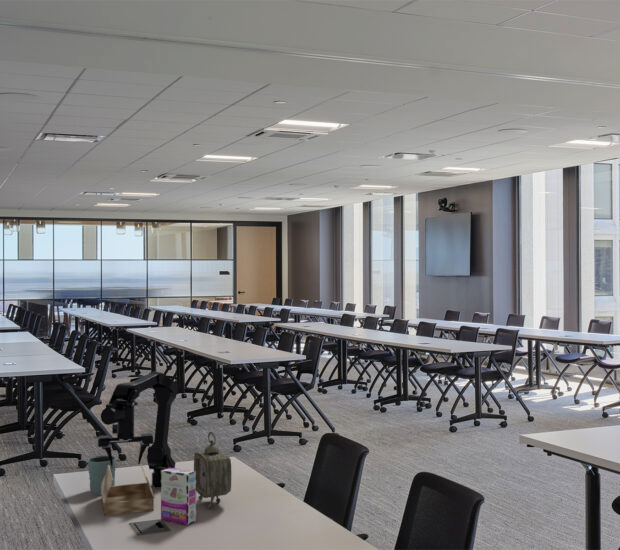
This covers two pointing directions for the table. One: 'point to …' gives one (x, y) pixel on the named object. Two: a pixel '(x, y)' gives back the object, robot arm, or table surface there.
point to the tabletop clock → (212, 472)
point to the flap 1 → (106, 483)
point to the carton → (128, 499)
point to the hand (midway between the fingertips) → (125, 464)
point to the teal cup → (99, 471)
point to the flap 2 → (147, 480)
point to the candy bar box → (178, 496)
